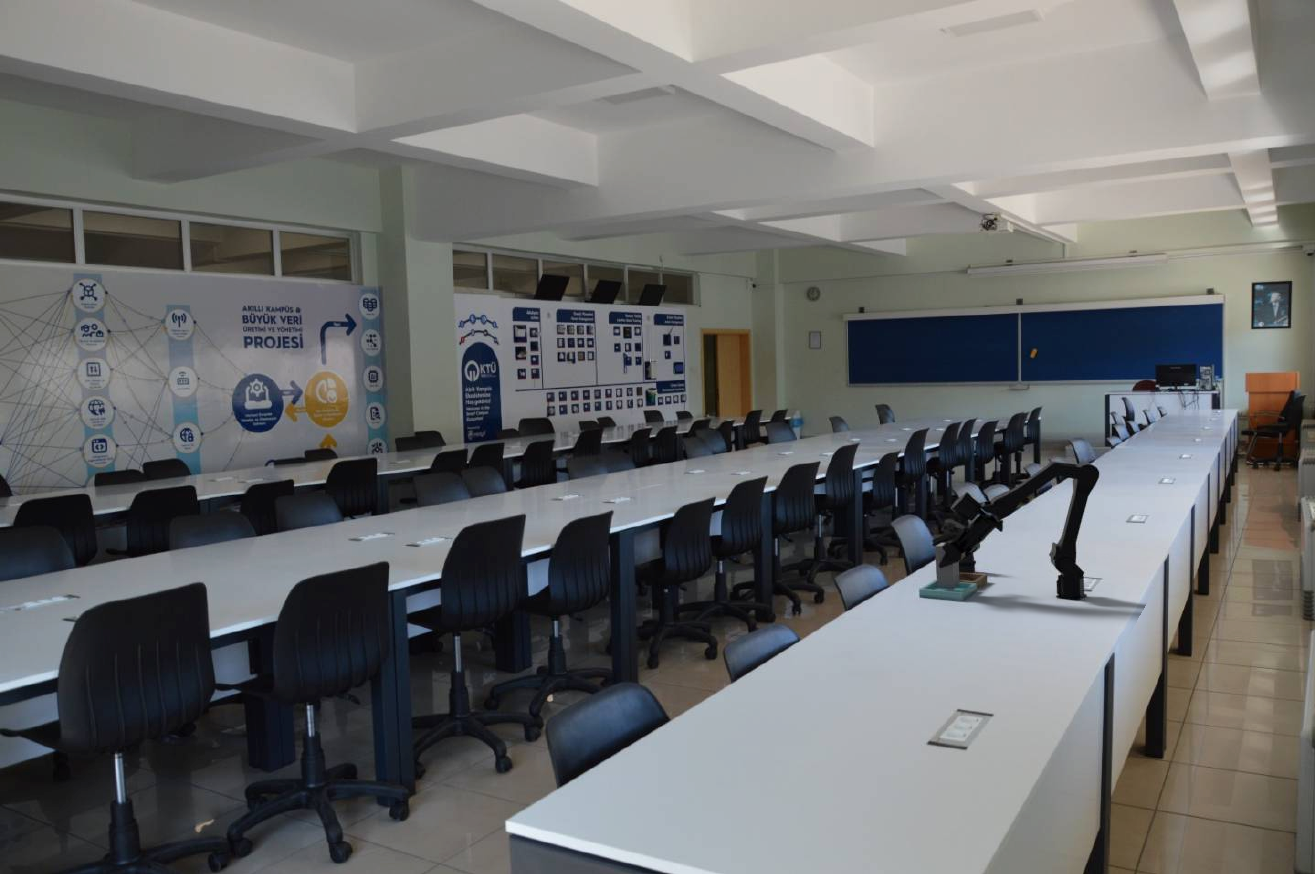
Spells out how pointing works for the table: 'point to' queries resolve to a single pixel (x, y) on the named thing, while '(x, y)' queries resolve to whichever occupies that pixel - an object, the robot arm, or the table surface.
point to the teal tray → (948, 591)
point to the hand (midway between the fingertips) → (942, 565)
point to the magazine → (966, 563)
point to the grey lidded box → (946, 571)
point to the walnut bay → (973, 578)
